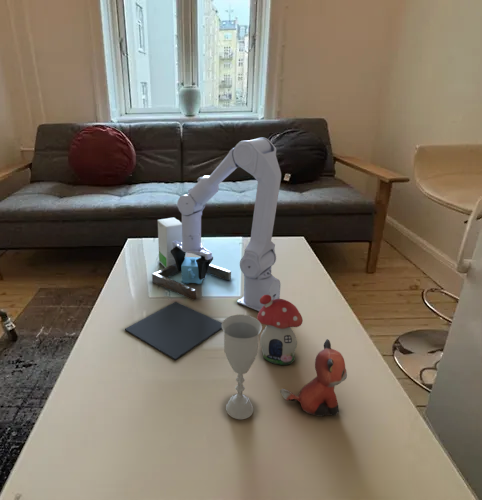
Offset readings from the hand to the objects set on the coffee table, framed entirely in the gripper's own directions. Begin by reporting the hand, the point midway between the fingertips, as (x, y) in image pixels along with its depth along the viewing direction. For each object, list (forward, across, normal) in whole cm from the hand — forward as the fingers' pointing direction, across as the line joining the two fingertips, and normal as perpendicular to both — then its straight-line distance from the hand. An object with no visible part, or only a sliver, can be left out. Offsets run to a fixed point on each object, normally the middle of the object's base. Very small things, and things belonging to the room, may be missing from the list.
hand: (191, 274), depth 120 cm
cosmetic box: (+3, +14, -5) cm, 15 cm away
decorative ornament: (+2, -40, +15) cm, 43 cm away
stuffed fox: (+1, -52, +23) cm, 57 cm away
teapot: (+3, 0, 0) cm, 3 cm away
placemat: (+2, -15, +22) cm, 26 cm away
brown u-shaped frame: (+2, -1, 0) cm, 3 cm away
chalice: (+2, -43, +33) cm, 54 cm away
